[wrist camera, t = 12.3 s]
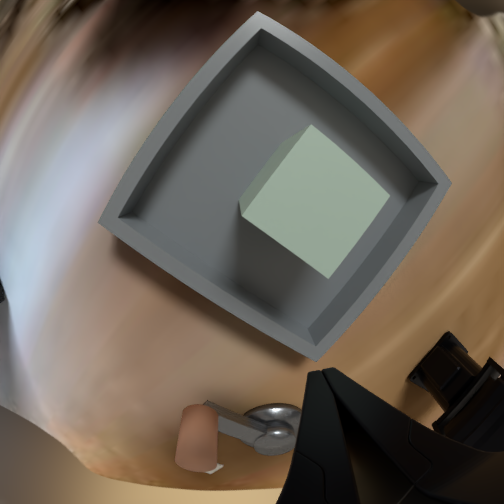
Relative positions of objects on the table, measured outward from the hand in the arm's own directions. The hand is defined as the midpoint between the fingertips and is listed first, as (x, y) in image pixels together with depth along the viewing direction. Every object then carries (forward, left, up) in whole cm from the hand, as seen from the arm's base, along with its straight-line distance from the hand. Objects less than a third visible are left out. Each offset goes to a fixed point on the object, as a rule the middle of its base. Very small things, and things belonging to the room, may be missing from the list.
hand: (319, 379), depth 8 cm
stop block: (+2, -4, -11) cm, 12 cm away
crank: (-7, +13, -11) cm, 19 cm away
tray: (+2, -5, -12) cm, 13 cm away
